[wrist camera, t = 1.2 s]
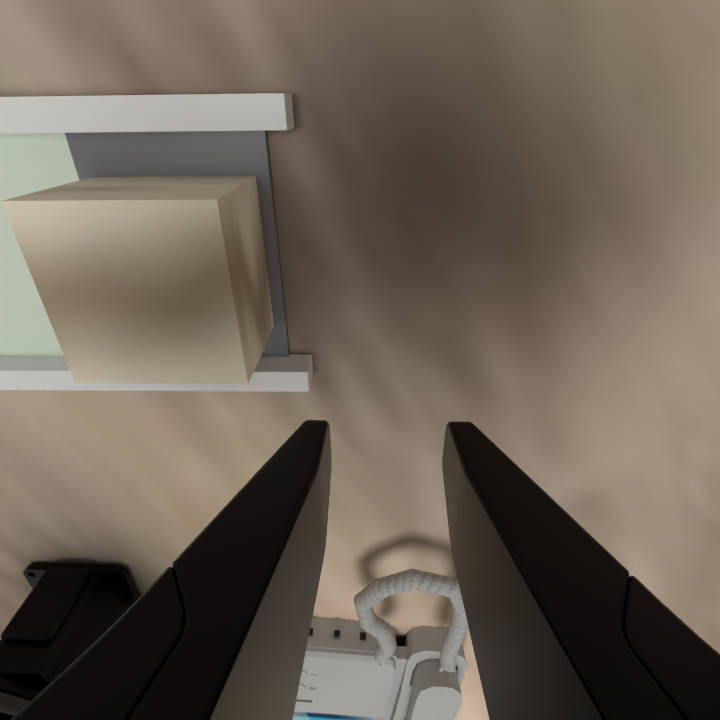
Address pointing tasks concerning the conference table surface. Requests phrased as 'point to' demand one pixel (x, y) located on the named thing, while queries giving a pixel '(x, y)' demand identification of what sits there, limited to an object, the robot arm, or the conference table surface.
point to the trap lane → (132, 159)
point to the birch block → (150, 276)
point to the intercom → (385, 660)
